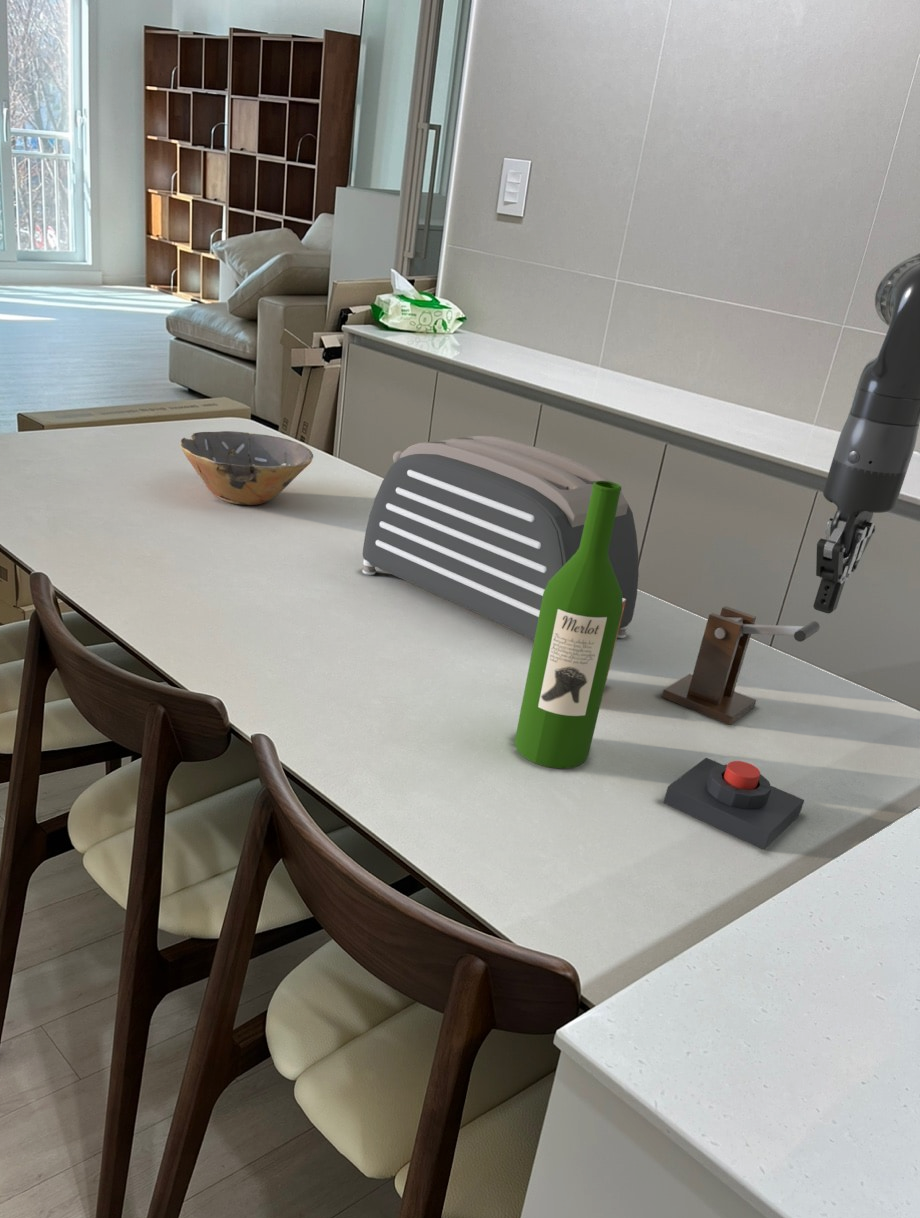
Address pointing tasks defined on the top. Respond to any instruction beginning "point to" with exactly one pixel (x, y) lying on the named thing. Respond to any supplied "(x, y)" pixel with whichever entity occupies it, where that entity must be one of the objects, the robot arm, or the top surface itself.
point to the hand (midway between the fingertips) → (824, 609)
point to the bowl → (245, 464)
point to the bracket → (717, 670)
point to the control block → (734, 804)
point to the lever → (780, 629)
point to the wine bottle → (573, 645)
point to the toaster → (490, 526)
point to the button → (742, 775)
